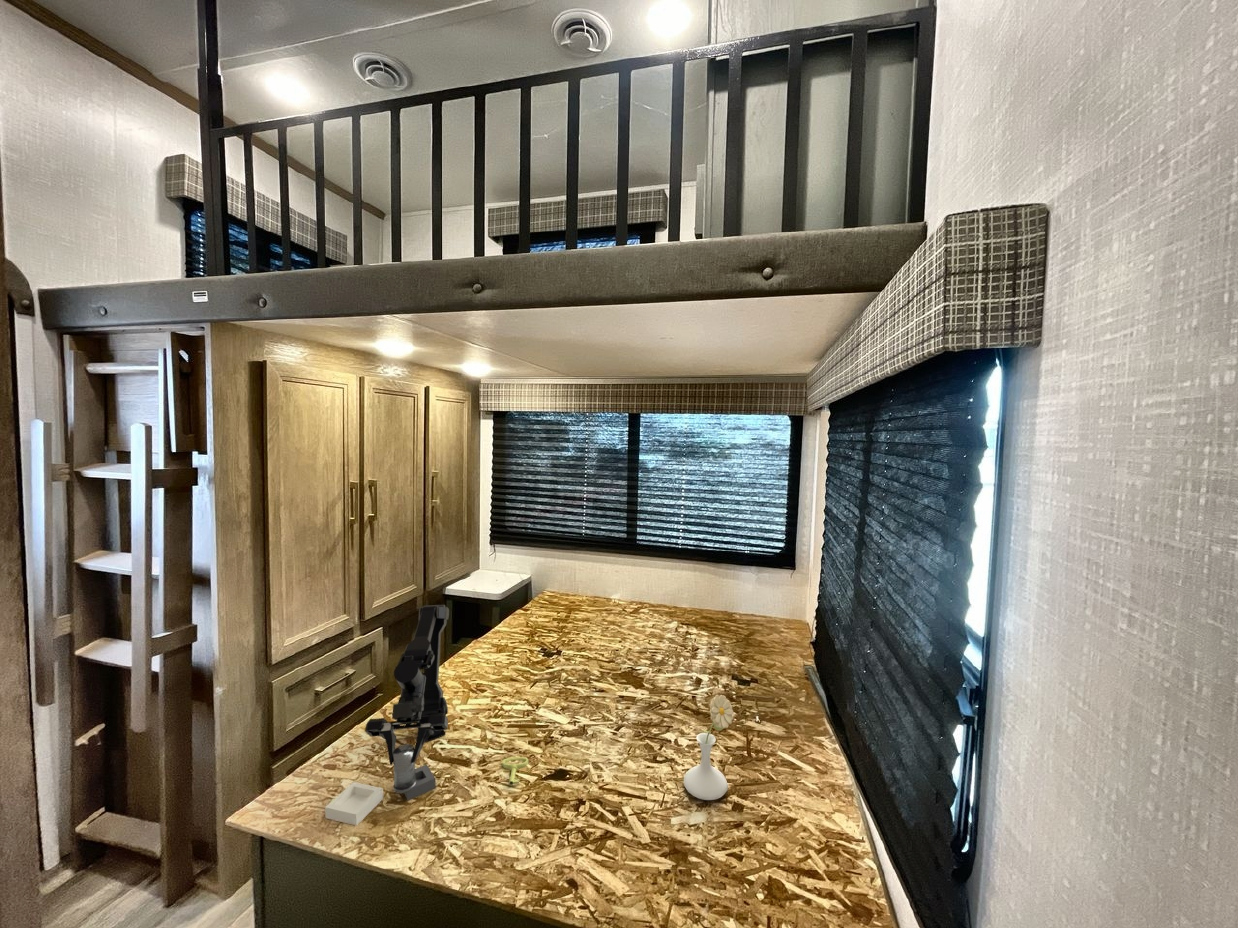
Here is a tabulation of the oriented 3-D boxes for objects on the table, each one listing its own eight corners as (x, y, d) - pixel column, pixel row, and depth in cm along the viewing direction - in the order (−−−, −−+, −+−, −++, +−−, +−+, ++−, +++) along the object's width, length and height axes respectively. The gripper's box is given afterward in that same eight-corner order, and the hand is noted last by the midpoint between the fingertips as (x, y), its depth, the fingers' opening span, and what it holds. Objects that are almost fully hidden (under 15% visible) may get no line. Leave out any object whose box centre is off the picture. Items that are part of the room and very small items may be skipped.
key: (509, 790, 132) (509, 783, 131) (500, 762, 143) (500, 755, 143) (536, 783, 134) (536, 775, 134) (525, 756, 146) (525, 749, 146)
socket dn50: (353, 792, 131) (353, 781, 130) (383, 798, 128) (382, 788, 128) (325, 818, 122) (325, 807, 122) (356, 825, 120) (356, 814, 119)
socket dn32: (427, 773, 137) (426, 764, 137) (435, 788, 132) (435, 778, 132) (400, 785, 133) (399, 775, 133) (407, 800, 128) (407, 789, 127)
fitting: (413, 774, 127) (412, 741, 126) (418, 787, 123) (417, 751, 122) (391, 783, 124) (390, 748, 123) (395, 796, 120) (394, 760, 119)
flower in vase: (694, 809, 125) (695, 712, 123) (676, 778, 136) (677, 689, 134) (741, 798, 128) (743, 703, 126) (720, 769, 139) (721, 682, 137)
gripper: (365, 688, 124) (351, 760, 114) (444, 682, 127) (437, 751, 117) (377, 702, 132) (364, 770, 122) (450, 695, 135) (444, 761, 125)
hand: (402, 763), depth 122 cm, fingers closed on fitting, 5 cm apart
